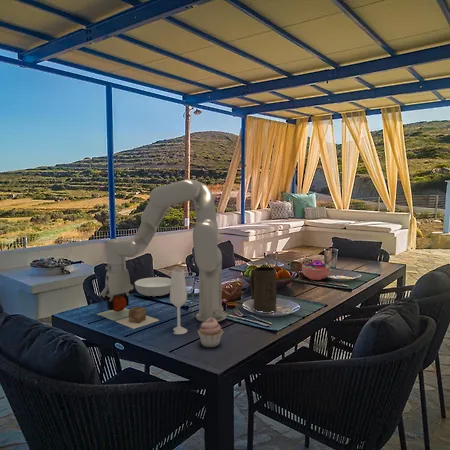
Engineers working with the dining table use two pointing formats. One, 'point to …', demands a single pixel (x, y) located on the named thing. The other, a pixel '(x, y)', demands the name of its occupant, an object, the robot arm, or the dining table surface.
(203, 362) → the dining table surface
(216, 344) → the cupcake
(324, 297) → the dining table surface
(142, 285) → the serving bowl
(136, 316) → the walnut block
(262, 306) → the beer stein
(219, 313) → the robot arm
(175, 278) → the champagne flute
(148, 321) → the cream mat
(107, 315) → the pale sage mat
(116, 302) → the fruit
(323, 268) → the cell model
